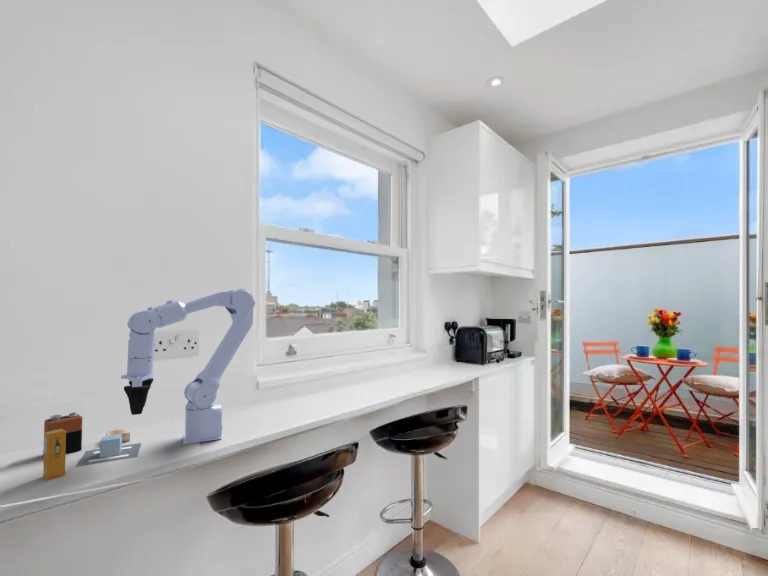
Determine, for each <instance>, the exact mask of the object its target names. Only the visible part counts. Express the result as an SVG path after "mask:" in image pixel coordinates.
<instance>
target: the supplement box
mask: <svg viewBox="0 0 768 576" xmlns="http://www.w3.org/2000/svg"><path fill="white" fill-rule="evenodd" d="M43 450H44V455H43V473H42V475H43V478H44V480H45V481H50V480H53V479H57V478H61V477H64V476H66V455H67V454H66V431H65V430H63V429H58V430H54V431H49V432H45V433H44V432H43Z"/></svg>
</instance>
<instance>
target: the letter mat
mask: <svg viewBox="0 0 768 576" xmlns="http://www.w3.org/2000/svg"><path fill="white" fill-rule="evenodd" d="M141 446H142V442H139V443H131V444H124V445H122V449H121V452H120V455H116V456H110V457H104V458H100V448H97V449H89V450H86V451H85V452H84V454H83V455H82V456H81V458H80V459H79V461H78V462H77V463H76V465H75V468H78V467H84V466H90V465H97V464H103V463H110V462H115V461H121V460H128V459H134V458H138V457H139V453H140V449H141Z"/></svg>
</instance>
